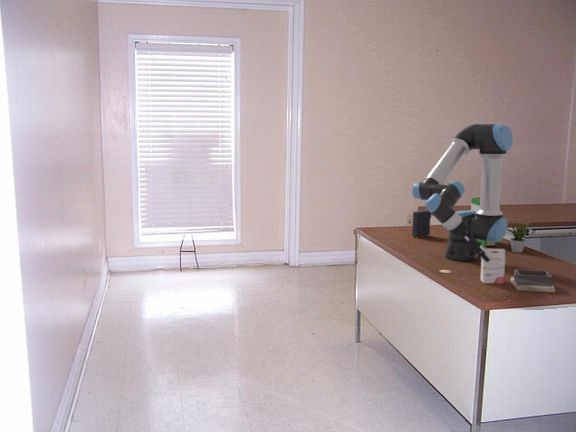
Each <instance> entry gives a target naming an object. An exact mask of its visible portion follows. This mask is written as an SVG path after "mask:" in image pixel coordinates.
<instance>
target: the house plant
mask: <svg viewBox="0 0 576 432" xmlns="http://www.w3.org/2000/svg"><path fill="white" fill-rule="evenodd" d="M512 223H513V224H514V226H513V225H512V224H510V223H508V222H507V224H508V226H510V227H511V229H509V228H507V232H506V234H505V235H508V233H509V234H510V235H511V236H512V238H510V245H511V246H510V247H511V252H513V253H523V252H524V249H525V248H524V247H525V244H526V239H524V238H523V237H524V236H526V235H529V233H527V232H528V231H526V230H527V229H528V228H529V227H530V225H531V224H530V221H528V222H527V221H526V222H523V223H522V222H521V220H520V221H519V223H517V222H516V220H513V221H512ZM521 223H522V224H521Z"/></svg>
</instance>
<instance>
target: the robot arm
mask: <svg viewBox="0 0 576 432" xmlns="http://www.w3.org/2000/svg"><path fill="white" fill-rule="evenodd" d="M513 137H514V136H513V132H512V130H511V129H510V127H509V126H508V125H506V124H500V123H487V124H486V123H475V124H471V125H468V126H467V127H464V128H463V129H462V130H460V131H458V133H457V134H456V135H454V137H453V138H452V139H451V141H450V143H449V147H448V148H447V149H446V151H445V152H444V154H443V155H442V156H441V157H440V159H439V160H438V161H437V163H436V164H435V165H434V167H432V169H431V171H430V172H429V173H428V175H427V176H426V177H425V179H424V180H423V181H419V182H415V183H414V185H413V186H412V189H411V193H412V196H413V198H415V199H416V200H422V201H425V202H424V206H425V208H426V210H428V211H430V213H431V215H432V216H434V218H435V219H436V220H438V222H439V223H441V224H442V228H445V229H446V230H447V231H448V232H449V233H448V243H447V246H446V248H445V251H444V258H446V259H448V260H453V261H457V262H471V261H475V260H477V258H478V259H480V260H481V259H482V260H483V261H484V262H485V263H486V264H487V265H488V266H489V267H490V268H491V269H492V268H493V267H494V266H496V265H497V264H496V263H495V262H494V261H493V260H492V259H491V258H490V257H489V256H488V255H487V254H486V253H485V249H486V247H483V246H482V245H481V244H482V243H481V242H478V241H477V240H476V239H478V240H484V241H488V242H498V243H499V242H501V241H502V240H503V239H504V237H505V235H507V234H506V233H507V232H508V230H507V229H508V226H509V223H508V221H507V220H508V219H506V218H504V217H503V216H504V215H503V214H504V213H503V212H502V211H501V203H500V202H501V191H502V189H501V187H502V176H503V175H502V172H503V171H502V170H503V158H504V157H505V156H506V155H507V152H508V151H509V150H510V149H512V146H513V142H514V140H513V139H514V138H513ZM473 150H478V152H479V153H478V154H479V155H480V156H481V159H482V161H481V180H480V181H481V183H480V197H479V198H480V209H479V210H478V211H477V212H475V211H471V209H468V210H458V211H457V210H455V209H454V208H453V207H454V206H455V205H456V204H457V202H459V200H461V198H462V196H463V195H464V193H465V192H466V190H465V186H464V184H462V183H461V181H458V180H452V181H449V183H448V184H444V183H445V182H446V180H447V178H448V177H449V176H450V175H451V173H452V172H453V170H454V169H455V168H456V166H458V164H459V163H460V161H461V160H462V158H463V157H464V156H466V155H468V154H469V153H470V151H473ZM507 223H508V224H507Z"/></svg>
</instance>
